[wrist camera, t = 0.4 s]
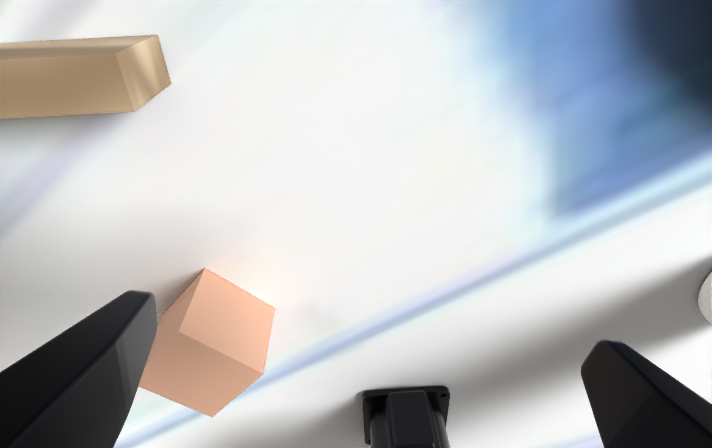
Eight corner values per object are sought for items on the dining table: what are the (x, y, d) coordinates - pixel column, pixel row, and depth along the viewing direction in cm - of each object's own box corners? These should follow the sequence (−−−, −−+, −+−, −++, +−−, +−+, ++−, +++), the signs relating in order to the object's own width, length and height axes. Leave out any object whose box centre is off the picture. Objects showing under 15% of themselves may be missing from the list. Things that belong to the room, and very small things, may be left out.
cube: (275, 307, 26) (263, 373, 22) (230, 348, 28) (212, 417, 24) (205, 266, 24) (178, 331, 20) (162, 314, 26) (129, 382, 22)
